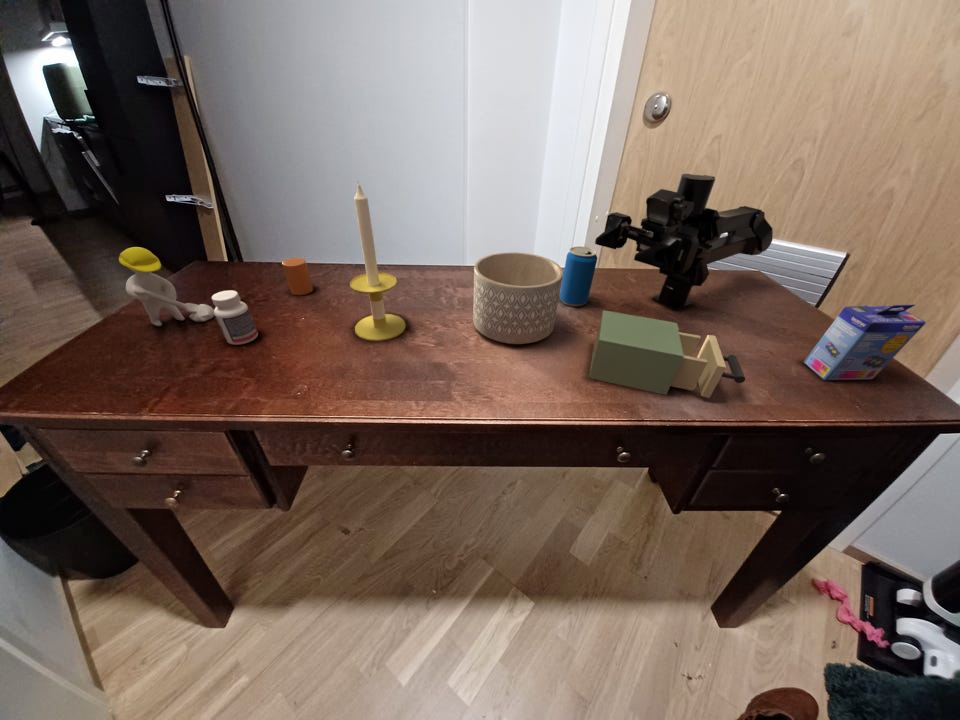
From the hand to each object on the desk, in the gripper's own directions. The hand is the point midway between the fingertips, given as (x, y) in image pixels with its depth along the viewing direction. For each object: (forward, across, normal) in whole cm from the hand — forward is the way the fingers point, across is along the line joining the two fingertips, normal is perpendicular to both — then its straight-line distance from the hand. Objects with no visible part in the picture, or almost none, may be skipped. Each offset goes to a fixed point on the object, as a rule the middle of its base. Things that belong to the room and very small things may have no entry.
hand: (614, 248), depth 65 cm
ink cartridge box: (-28, +32, +18) cm, 46 cm away
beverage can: (-4, -12, +17) cm, 21 cm away
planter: (+15, -9, +17) cm, 24 cm away
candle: (+39, -21, +16) cm, 47 cm away
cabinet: (+5, +12, +17) cm, 22 cm away
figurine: (+72, -42, +15) cm, 85 cm away
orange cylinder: (+49, -46, +15) cm, 69 cm away
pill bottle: (+62, -30, +15) cm, 71 cm away
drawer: (0, +19, +16) cm, 25 cm away
